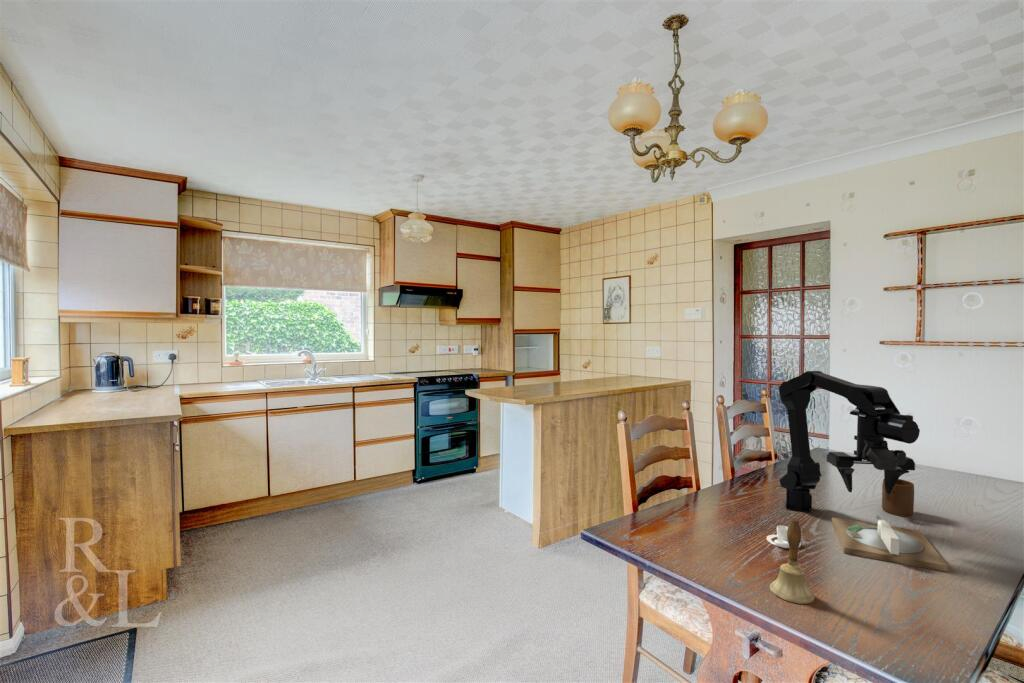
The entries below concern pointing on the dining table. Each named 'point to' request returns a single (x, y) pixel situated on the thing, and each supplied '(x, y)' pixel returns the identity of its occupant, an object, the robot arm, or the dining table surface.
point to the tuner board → (867, 544)
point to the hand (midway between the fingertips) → (868, 492)
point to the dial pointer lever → (887, 536)
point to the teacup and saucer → (780, 537)
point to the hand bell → (792, 572)
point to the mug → (899, 498)
